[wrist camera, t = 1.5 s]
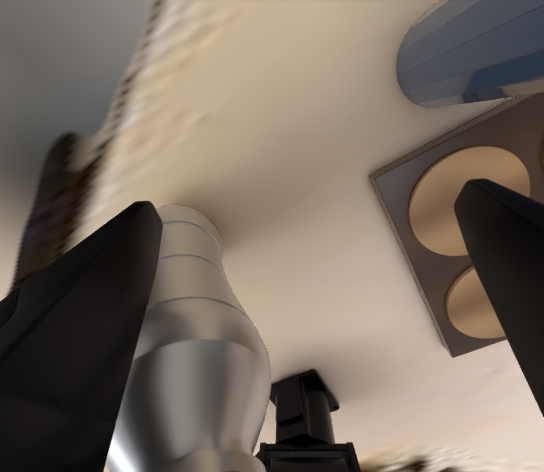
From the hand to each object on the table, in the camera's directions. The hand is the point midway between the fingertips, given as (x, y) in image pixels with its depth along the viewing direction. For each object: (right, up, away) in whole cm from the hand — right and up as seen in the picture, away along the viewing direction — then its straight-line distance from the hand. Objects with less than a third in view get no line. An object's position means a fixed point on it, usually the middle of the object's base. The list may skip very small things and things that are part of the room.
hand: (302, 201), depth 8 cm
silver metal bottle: (-9, -1, +15) cm, 17 cm away
